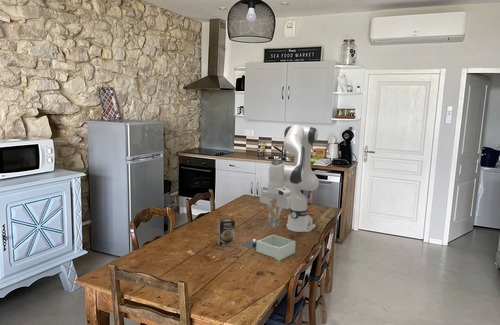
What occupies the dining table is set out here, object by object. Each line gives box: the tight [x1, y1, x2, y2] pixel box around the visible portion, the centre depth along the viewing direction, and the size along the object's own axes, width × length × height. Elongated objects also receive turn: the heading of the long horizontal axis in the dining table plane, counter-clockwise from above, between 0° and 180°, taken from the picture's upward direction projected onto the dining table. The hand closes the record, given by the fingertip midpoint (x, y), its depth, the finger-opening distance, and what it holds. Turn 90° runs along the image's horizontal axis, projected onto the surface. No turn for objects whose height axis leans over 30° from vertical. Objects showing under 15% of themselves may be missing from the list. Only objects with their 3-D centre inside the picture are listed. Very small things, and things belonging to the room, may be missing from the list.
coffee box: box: [217, 217, 236, 247], centre depth 223 cm, size 9×6×16 cm
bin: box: [255, 234, 296, 261], centre depth 215 cm, size 16×16×7 cm
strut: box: [267, 198, 281, 228], centre depth 213 cm, size 4×4×16 cm
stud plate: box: [240, 238, 258, 251], centre depth 224 cm, size 12×12×5 cm
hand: (274, 213), depth 213 cm, fingers closed on strut, 4 cm apart
